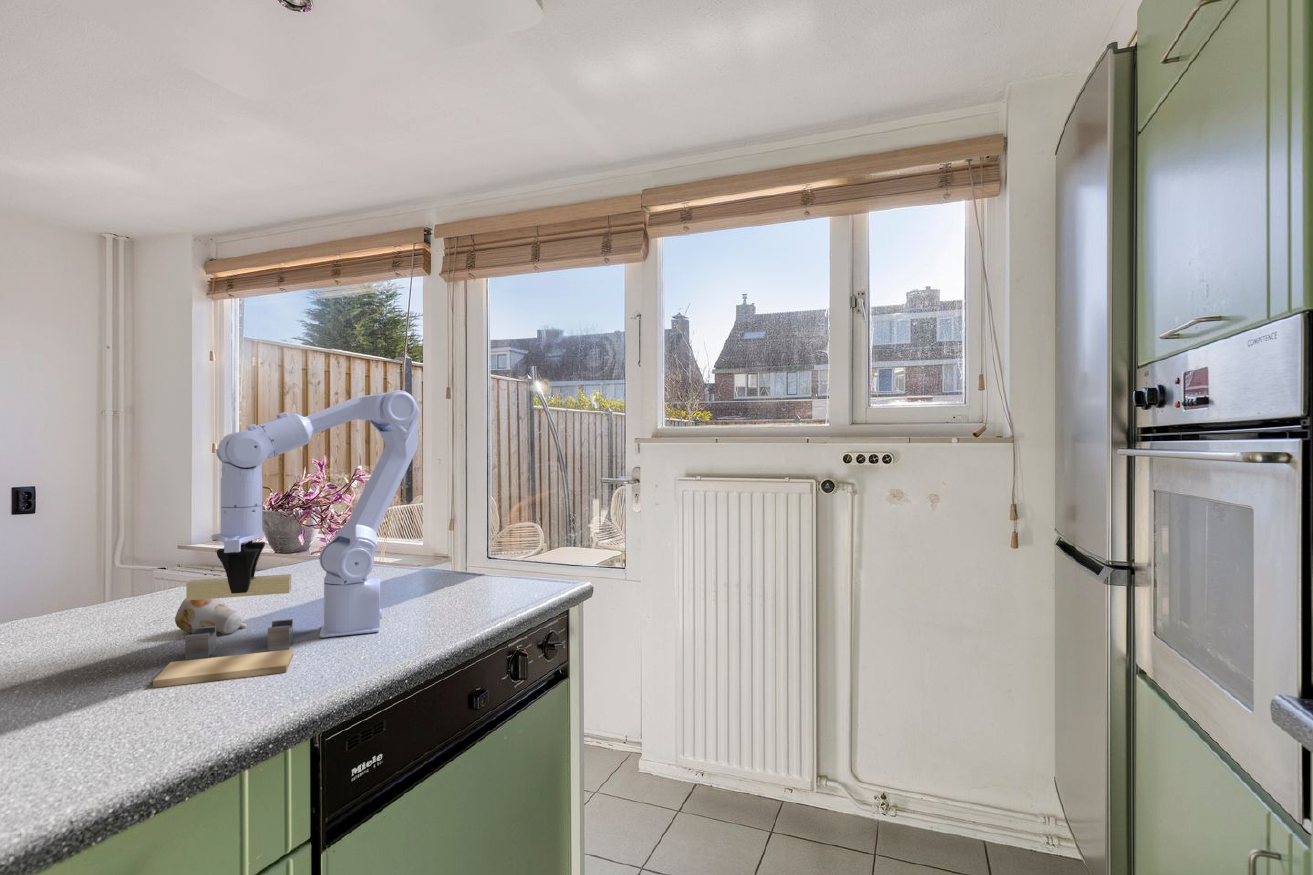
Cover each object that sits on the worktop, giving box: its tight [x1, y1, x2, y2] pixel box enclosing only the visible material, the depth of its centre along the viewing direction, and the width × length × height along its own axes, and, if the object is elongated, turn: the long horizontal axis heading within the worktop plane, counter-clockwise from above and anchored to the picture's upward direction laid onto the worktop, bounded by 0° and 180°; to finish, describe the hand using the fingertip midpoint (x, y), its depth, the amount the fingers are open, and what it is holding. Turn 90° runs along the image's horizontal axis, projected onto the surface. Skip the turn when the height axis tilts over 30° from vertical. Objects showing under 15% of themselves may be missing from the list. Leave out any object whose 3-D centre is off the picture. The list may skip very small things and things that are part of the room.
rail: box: [185, 573, 292, 600], centre depth 105 cm, size 14×3×3 cm, turn 112°
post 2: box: [267, 618, 294, 652], centre depth 108 cm, size 3×5×4 cm, turn 23°
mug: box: [174, 598, 248, 635], centre depth 116 cm, size 8×10×10 cm
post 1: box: [184, 626, 217, 661], centre depth 104 cm, size 3×5×4 cm, turn 23°
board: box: [152, 648, 294, 689], centre depth 96 cm, size 16×8×1 cm, turn 113°
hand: (241, 590), depth 105 cm, fingers closed on rail, 3 cm apart
